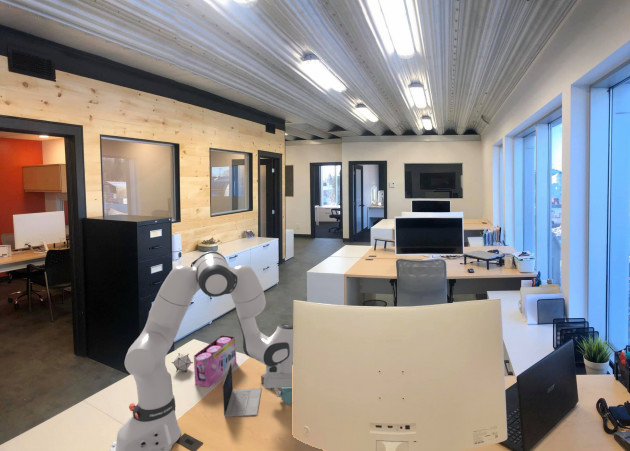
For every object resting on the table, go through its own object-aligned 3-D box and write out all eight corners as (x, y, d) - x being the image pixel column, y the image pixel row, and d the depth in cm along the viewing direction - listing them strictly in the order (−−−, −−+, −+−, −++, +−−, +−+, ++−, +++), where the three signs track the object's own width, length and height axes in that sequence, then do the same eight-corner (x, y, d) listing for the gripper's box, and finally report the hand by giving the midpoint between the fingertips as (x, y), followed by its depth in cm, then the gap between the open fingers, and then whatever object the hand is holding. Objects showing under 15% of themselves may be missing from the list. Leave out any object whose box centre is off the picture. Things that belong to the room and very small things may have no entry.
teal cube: (287, 404, 151) (287, 393, 151) (281, 399, 155) (280, 387, 155) (298, 400, 154) (297, 388, 154) (291, 394, 158) (291, 383, 158)
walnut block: (271, 390, 163) (270, 381, 162) (261, 384, 168) (261, 375, 167) (283, 383, 167) (283, 375, 167) (274, 377, 172) (273, 369, 172)
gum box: (208, 389, 164) (206, 359, 162) (192, 386, 167) (190, 357, 165) (237, 363, 187) (235, 336, 185) (223, 361, 189) (221, 334, 187)
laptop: (257, 416, 145) (255, 384, 144) (223, 418, 145) (221, 386, 143) (261, 390, 163) (260, 361, 161) (231, 391, 163) (230, 362, 161)
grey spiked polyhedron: (180, 377, 182) (172, 357, 185) (197, 368, 184) (189, 349, 187) (174, 377, 174) (167, 356, 177) (192, 367, 176) (184, 347, 179)
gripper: (313, 358, 156) (314, 390, 158) (263, 361, 155) (265, 392, 157) (314, 366, 150) (315, 398, 152) (262, 368, 149) (263, 401, 151)
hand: (289, 395), depth 155 cm, fingers closed on teal cube, 7 cm apart
